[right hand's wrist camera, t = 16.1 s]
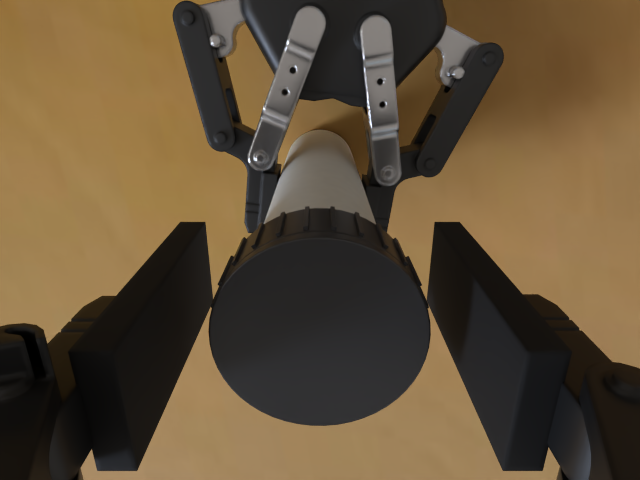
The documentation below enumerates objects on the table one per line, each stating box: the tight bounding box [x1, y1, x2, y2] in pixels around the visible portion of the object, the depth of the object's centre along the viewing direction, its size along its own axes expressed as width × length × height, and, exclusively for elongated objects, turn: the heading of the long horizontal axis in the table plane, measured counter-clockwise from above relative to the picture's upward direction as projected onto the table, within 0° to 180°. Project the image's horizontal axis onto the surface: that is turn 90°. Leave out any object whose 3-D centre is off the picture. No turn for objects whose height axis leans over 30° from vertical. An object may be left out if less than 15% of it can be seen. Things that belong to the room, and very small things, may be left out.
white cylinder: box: [264, 130, 376, 224], centre depth 19 cm, size 4×4×18 cm
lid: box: [209, 206, 431, 426], centre depth 11 cm, size 5×5×2 cm
